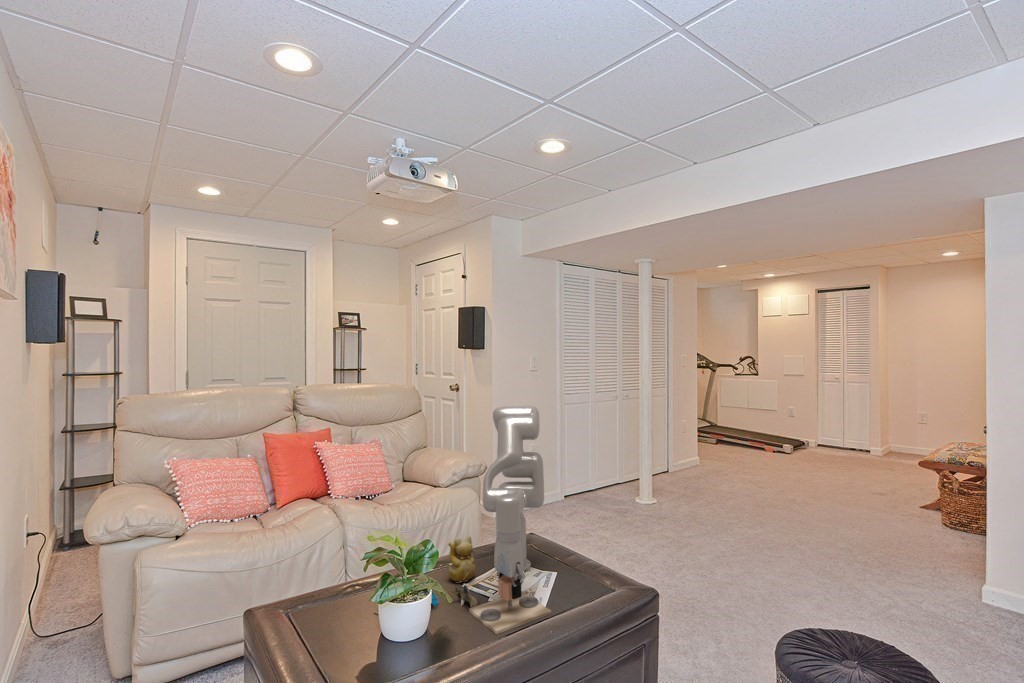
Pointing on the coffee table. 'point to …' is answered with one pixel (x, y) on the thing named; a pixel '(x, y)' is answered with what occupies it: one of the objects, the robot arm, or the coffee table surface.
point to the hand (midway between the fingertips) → (509, 592)
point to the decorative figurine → (461, 559)
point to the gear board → (509, 612)
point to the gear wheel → (505, 587)
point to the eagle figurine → (466, 596)
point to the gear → (434, 600)
